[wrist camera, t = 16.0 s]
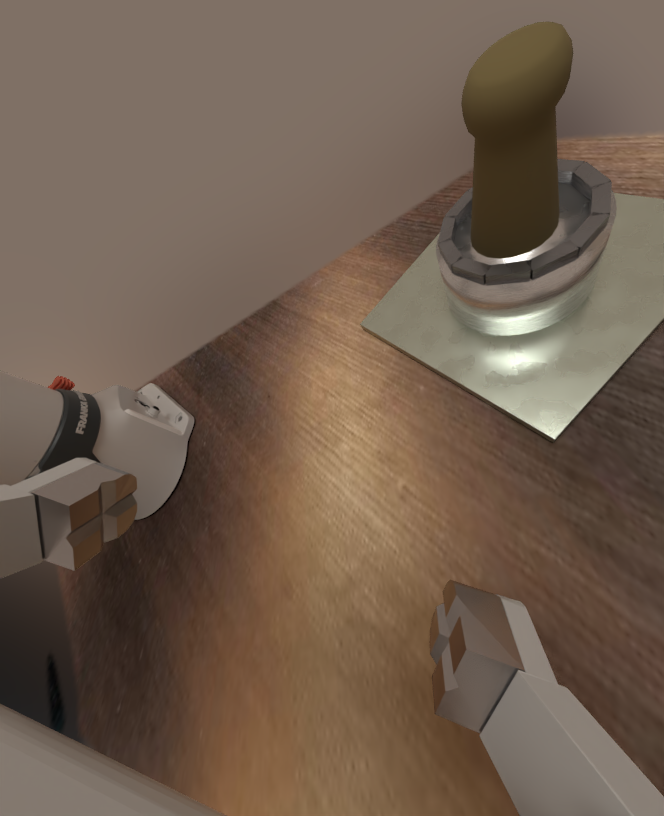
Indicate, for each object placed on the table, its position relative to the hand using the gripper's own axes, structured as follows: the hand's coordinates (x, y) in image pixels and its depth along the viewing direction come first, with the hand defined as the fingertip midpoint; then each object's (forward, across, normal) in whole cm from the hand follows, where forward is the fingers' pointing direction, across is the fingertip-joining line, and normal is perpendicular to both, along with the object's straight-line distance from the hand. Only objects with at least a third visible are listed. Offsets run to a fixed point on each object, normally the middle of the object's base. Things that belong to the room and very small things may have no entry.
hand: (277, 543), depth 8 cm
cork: (+24, -8, -14) cm, 29 cm away
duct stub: (+29, -11, -10) cm, 33 cm away
